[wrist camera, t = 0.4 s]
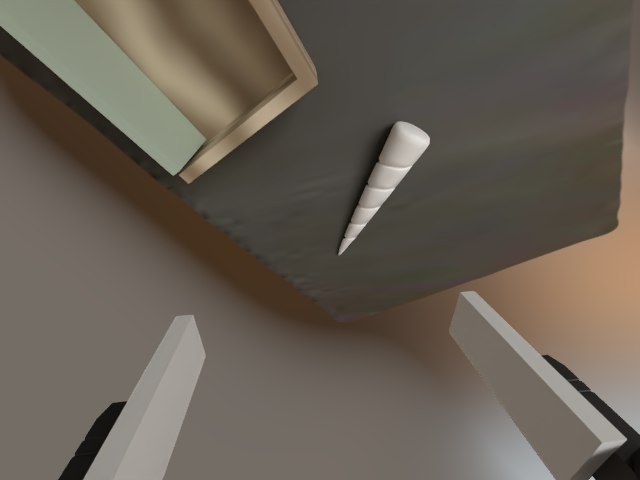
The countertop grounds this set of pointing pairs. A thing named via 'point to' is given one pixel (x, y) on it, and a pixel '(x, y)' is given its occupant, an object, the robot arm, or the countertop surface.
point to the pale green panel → (102, 76)
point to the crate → (212, 63)
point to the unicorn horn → (387, 174)
